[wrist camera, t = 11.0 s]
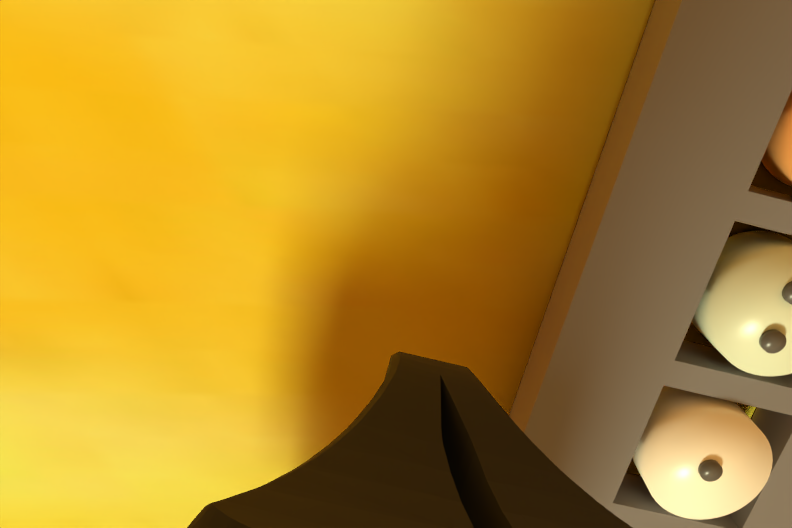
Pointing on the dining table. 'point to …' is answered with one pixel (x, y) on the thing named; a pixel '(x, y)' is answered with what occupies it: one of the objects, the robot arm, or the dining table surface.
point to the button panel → (665, 258)
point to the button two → (751, 303)
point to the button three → (781, 147)
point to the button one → (702, 455)
